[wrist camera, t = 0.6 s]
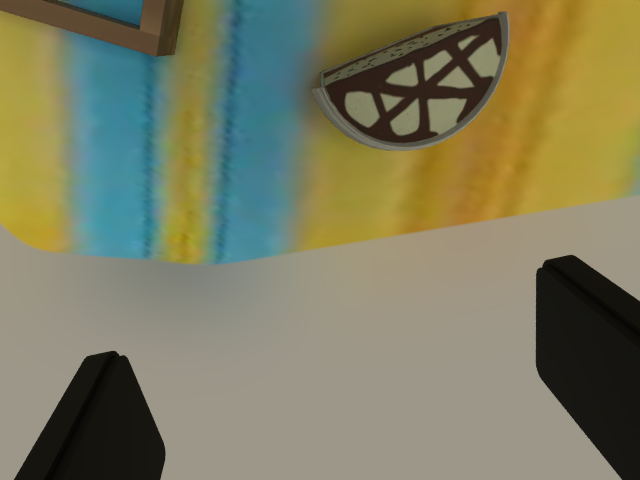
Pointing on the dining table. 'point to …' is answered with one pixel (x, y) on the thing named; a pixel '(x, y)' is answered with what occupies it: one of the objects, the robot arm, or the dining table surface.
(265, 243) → the dining table surface
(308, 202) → the dining table surface
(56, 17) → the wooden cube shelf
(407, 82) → the food container
